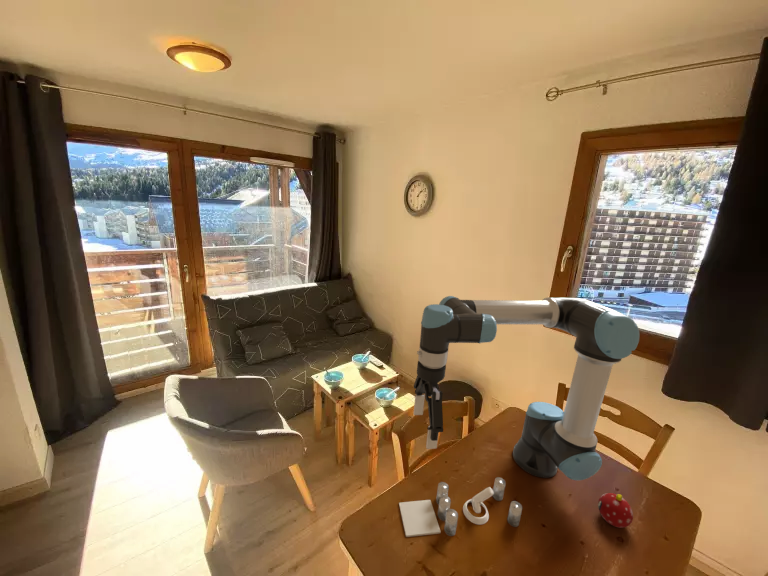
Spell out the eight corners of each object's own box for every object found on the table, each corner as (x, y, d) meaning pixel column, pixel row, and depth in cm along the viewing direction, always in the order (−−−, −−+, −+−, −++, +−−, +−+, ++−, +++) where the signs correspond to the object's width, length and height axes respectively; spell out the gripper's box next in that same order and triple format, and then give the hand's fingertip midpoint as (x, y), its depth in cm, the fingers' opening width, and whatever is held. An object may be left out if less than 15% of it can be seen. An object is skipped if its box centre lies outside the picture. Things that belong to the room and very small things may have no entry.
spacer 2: (446, 510, 97) (448, 494, 95) (449, 520, 94) (452, 504, 92) (436, 511, 96) (438, 495, 95) (439, 521, 93) (441, 505, 92)
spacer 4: (499, 491, 104) (502, 476, 103) (504, 500, 101) (507, 485, 100) (490, 492, 104) (493, 477, 102) (495, 501, 101) (498, 486, 99)
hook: (511, 513, 91) (496, 506, 89) (481, 532, 95) (465, 526, 93) (501, 487, 98) (486, 479, 96) (473, 505, 102) (458, 499, 99)
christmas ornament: (633, 539, 91) (642, 512, 89) (599, 528, 94) (607, 501, 92) (623, 513, 99) (631, 488, 97) (591, 503, 102) (599, 478, 99)
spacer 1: (444, 496, 101) (446, 481, 100) (447, 505, 98) (450, 490, 97) (434, 497, 101) (436, 482, 99) (438, 506, 98) (440, 491, 96)
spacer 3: (453, 524, 92) (455, 508, 91) (457, 535, 89) (459, 519, 88) (442, 525, 92) (445, 509, 90) (446, 536, 89) (448, 520, 87)
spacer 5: (515, 515, 96) (518, 500, 95) (520, 526, 93) (524, 510, 92) (505, 517, 96) (508, 501, 94) (510, 527, 93) (514, 511, 91)
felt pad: (430, 501, 99) (430, 499, 99) (440, 533, 90) (440, 531, 90) (398, 504, 98) (399, 502, 97) (406, 537, 88) (406, 535, 88)
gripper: (407, 342, 95) (402, 403, 101) (432, 389, 72) (423, 466, 77) (431, 342, 97) (424, 402, 102) (463, 388, 73) (452, 463, 79)
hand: (424, 429), depth 90 cm, fingers open, 13 cm apart
